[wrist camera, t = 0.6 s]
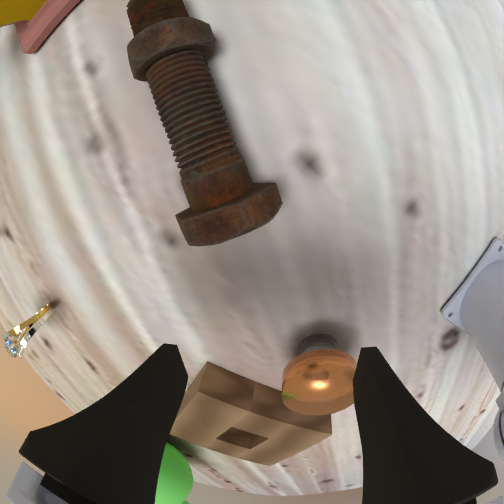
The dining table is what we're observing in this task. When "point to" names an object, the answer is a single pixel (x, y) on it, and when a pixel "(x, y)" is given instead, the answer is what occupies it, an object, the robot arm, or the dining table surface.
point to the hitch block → (244, 419)
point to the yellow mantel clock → (34, 19)
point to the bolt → (196, 124)
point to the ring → (25, 331)
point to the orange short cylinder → (319, 378)
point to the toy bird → (173, 478)
